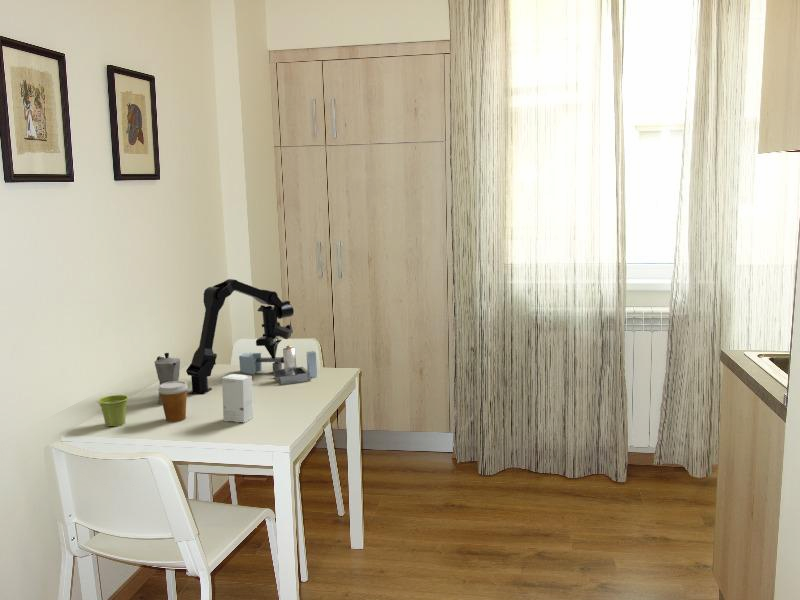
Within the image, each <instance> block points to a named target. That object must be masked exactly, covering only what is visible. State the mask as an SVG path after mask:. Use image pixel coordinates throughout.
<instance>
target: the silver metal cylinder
mask: <svg viewBox="0 0 800 600" xmlns="http://www.w3.org/2000/svg"><path fill="white" fill-rule="evenodd" d="M282 353H283V356H282V357H284V363H283V366H284V367H283V369H285V376H290V375H297V367H298V366H297V351H296V347H293V346H292V345H286V347H284V348H283V349H282Z"/></svg>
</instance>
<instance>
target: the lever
mask: <svg viewBox="0 0 800 600" xmlns="http://www.w3.org/2000/svg"><path fill="white" fill-rule="evenodd" d="M256 362H261V363H274V362H281V363H282V364H284V356H278V357H277V356H275V358H272V357H271V356H270V357H261V358H257V359H256Z"/></svg>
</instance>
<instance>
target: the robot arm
mask: <svg viewBox="0 0 800 600" xmlns="http://www.w3.org/2000/svg"><path fill="white" fill-rule="evenodd" d="M234 292H236V293H237V292H238V293H240V294H243V295H245V296H248V297H251V298H253V299H254V300H255V301H257V302H259V303H260V304H261V305H260V307H259V308H258V309H257V312H260V313H262V321H263V322H262V324H261V327H262V328H263V331H264V332H263V333H262V336H260V337H258V338H257V339H256V341H255V346H257V347H265V349H266V351H267V352H268V354H269V355H270V357H272V358H275V357H277V356H276V355H277V350H278V346H279V344H280V343H281V342H282V338H283V339H285V340H289V338H291V336H292V334H293V332H294V331H293V327H292V325H291V324H286V326H283V325H282V326H281V323H280V321H278V319H279V320H281V319H285V318H290V317H292V316H293V315H294V312H295V309H294V308H293V306H292V304H291V301H290V300H284V301H282V300H281V299H280V297H279V296H278V293H277V292H276V291H274V290H268V289H261V288H258V287H255V286H252V285H249V284H247V283H244V282H241V281H238V279H233V278H228V279H225V280H224V281H222V282H220V283H217V284H215V285H213V286H209V287H207V288H205V289H204V292H203V305H204V307H205V308H204V310H205V311H204V317H203V322H202V328H201V329H202V330H201V334H200V339H199V345H198V348H197V349H196V350H195V352H194V353H193V356H192V360H191V363H190V364H189V365H188V367H187V369H185V371H186V374H187V376H191V378H190V379H191V390H190V391H188V394H202V395H203V394H207V393H208V392H210V391H211V390H213V388H212V387H209V382H208V381H209V380H208V377H211V375H212V371H213V369H214V367H215V366H216V365H217V364H216V363H217V362H216V361H217V357H218V356H217V355H218V354H217V353H214V350H213V345H214V339H215V335H216V333H215V332H216V329H217V323H218V317H219V312H220V310H221V309H222V307H223V306H224V305H225V302H226V299H227V298H228V297H230V296H231V295H232V294H233V293H234ZM265 305H267V306H265ZM279 337H280V338H281V339H279Z"/></svg>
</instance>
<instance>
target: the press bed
mask: <svg viewBox="0 0 800 600" xmlns="http://www.w3.org/2000/svg"><path fill="white" fill-rule="evenodd" d="M306 366H307V368H305V367H304V366H297V375H290V376H285V369H284V368H282V369H281V370H274V374H273V376H274V379H275V380H276V381H277V382H278V383H279V385H280V386H285V385H291V383H292V384H298V383H297V382H300V383H305V381H307V382H311V380H312V379H311V377H313V378H318V373H317V372H318V369H317V354H316V352H315V351H314V350H311V351H306ZM284 384H285V385H284Z"/></svg>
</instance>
